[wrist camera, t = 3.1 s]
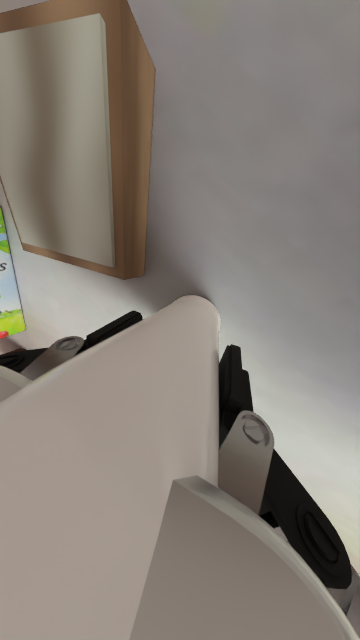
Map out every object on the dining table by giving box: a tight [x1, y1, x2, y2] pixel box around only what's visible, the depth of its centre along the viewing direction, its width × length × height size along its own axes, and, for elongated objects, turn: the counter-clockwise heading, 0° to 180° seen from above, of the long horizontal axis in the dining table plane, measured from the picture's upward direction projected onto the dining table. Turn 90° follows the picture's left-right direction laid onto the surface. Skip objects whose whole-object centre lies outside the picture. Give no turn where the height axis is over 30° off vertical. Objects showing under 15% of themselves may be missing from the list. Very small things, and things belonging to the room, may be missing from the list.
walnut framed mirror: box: [0, 0, 155, 280], centre depth 11 cm, size 12×12×3 cm
